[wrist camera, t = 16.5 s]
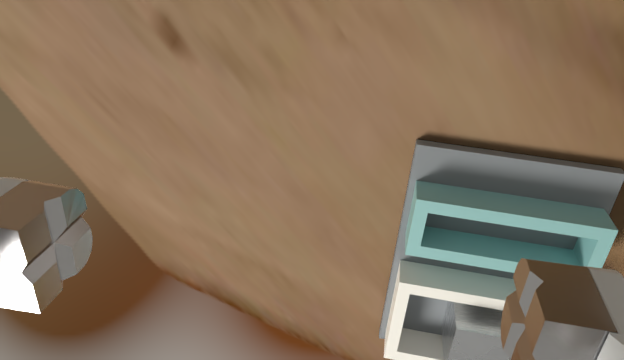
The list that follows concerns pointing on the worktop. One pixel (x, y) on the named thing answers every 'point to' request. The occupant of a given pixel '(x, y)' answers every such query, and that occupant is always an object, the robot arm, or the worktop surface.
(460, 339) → the steel block
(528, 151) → the worktop surface
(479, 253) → the holder
